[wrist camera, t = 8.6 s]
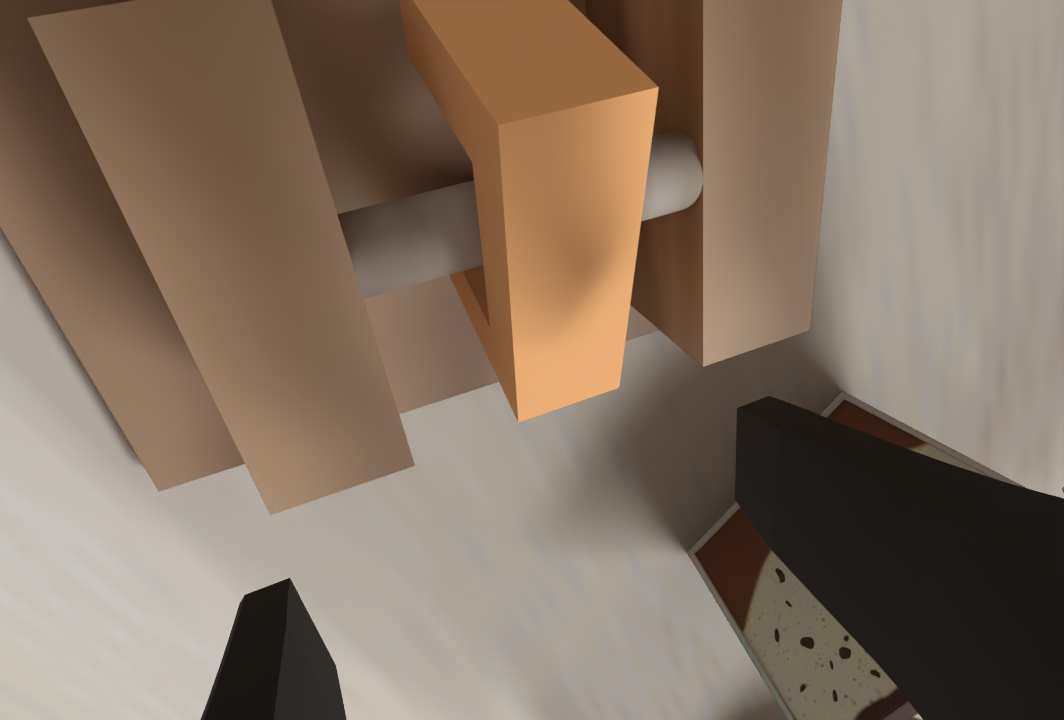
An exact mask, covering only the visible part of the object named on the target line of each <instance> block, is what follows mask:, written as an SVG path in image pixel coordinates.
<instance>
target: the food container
mask: <svg viewBox="0 0 1064 720" xmlns="http://www.w3.org/2000/svg"><path fill="white" fill-rule="evenodd" d="M820 415H821V416H824V417H826V418H829V419H832V420H834V421H837V422H839V423H842V424H844V425H847V426H849V427H852V428H855V429H857V430H860V431H862V432H865V433H867V434H870V435H873V436H875V437H878V438H880V439H883V440H886V441H888V442H891V443H894V444H896V445H899V446H902V447H904V448H907V449H910V450H912V451H915V452H918V453H921V454H923V455H926V456H929V457H932V458H935V459H937V460H940V461H943V462H946V463H949V464H952V465H955V466H958V467H961V468H964V469H967V470H970V471H973V472H976V473H979V474H982V475H985V476H988V477H991V478H994V479H997V480H1000V481H1004V482H1007V483H1010V484H1013V485H1017V486H1020V487H1023V486H1022V485H1020V484H1018V483H1016V482H1014V481H1012V480H1010V479H1008V478H1006V477H1004V476H1003V475H1001V474H999V473H997V472H995V471H993V470H991V469H989V468H987V467H985V466H984V465H982V464H980V463H978V462H976V461H974V460H972V459H970V458H968V457H967V456H965V455H963V454H961V453H959V452H957V451H955V450H953V449H951V448H949V447H948V446H946V445H944V444H942V443H940V442H938V441H936V440H934V439H932V438H931V437H929V436H927V435H925V434H923V433H921V432H919V431H917V430H915V429H913V428H912V427H910V426H908V425H906V424H904V423H902V422H900V421H898V420H896V419H894V418H893V417H891V416H889V415H887V414H885V413H883V412H881V411H879V410H877V409H876V408H874V407H872V406H870V405H868V404H866V403H864V402H862V401H860V400H858V399H857V398H855V397H853V396H851V395H849V394H847V393H845V392H843V391H842V392H841V393H840V394H839V395H838V396H837V397H836V398H835V399H834V400H833V401H832V402H831V403H830V405H829V406H828V407H827V408H826V409H825V410H824V411H823V412H822V413H821V414H820ZM1024 488H1025V487H1024ZM1062 490H1063V492H1064V487H1063V488H1062ZM687 554H688V555H689V557H690V559H691V560H692V562H693V564H694V565H695V567H696V569H697V570H698V572H699V574H700V575H701V577H702V579H703V580H704V582H705V584H706V585H707V587H708V589H709V590H710V592H711V593H712V595H713V597H714V598H715V600H716V602H717V603H718V605H719V607H720V608H721V610H722V612H723V613H724V615H725V617H726V618H727V620H728V622H729V623H730V625H731V627H732V628H733V630H734V632H735V633H736V635H737V637H738V638H739V640H740V642H741V643H742V645H743V647H744V648H745V650H746V652H747V653H748V655H749V657H750V658H751V660H752V662H753V663H754V665H755V667H756V668H757V670H758V672H759V673H760V675H761V677H762V678H763V680H764V682H765V683H766V685H767V687H768V688H769V690H770V692H771V693H772V695H773V697H774V698H775V700H776V702H777V703H778V705H779V707H780V708H781V710H782V712H783V713H784V715H785V717H786V718H787V720H923V719H922V718H921V716H920V715H919V714H918V713H917V711H916V710H915V709H914V708H913V706H912V705H911V704H910V702H909V701H908V700H907V699H906V697H905V696H904V695H903V693H902V692H901V691H900V690H899V688H898V687H897V686H896V685H895V684H894V682H893V681H892V680H891V679H890V678H889V677H888V676H887V674H886V673H885V672H884V671H883V670H882V669H881V668H880V666H879V665H878V664H877V663H876V662H875V661H874V660H873V659H872V657H871V656H870V655H869V654H868V653H867V652H866V651H865V650H864V649H863V648H862V647H861V646H860V645H859V644H858V643H857V641H856V640H855V639H854V638H853V637H852V636H851V635H850V634H849V633H848V632H847V631H846V630H845V629H844V628H843V627H842V626H841V624H840V623H839V622H838V621H837V620H836V619H835V618H834V617H833V616H832V615H831V614H830V613H829V612H828V611H827V610H826V609H825V607H824V606H823V605H822V604H821V603H820V602H819V601H818V600H817V599H816V598H815V597H814V596H813V595H812V594H811V593H810V592H809V590H808V589H807V588H806V587H805V586H804V585H803V584H802V583H801V582H800V581H799V580H798V579H797V577H796V576H795V575H794V574H793V573H792V572H791V571H790V570H789V569H788V568H787V567H786V566H785V565H784V563H783V562H782V561H781V560H780V559H779V558H778V557H777V556H776V555H775V553H774V552H773V551H772V550H771V549H770V547H769V546H768V545H767V543H766V542H765V541H764V539H763V538H762V537H761V535H760V534H759V533H758V531H757V530H756V529H755V527H754V526H753V524H752V523H751V522H750V520H749V519H748V517H747V516H746V514H745V513H744V512H743V510H742V509H741V507H740V506H739V504H738V503H737V502H735V503H734V504H733V505H732V506H731V507H730V508H729V509H728V510H727V512H726V513H725V514H724V515H723V516H722V517H721V518H720V519H719V520H718V521H717V522H716V523H715V524H714V525H713V526H712V527H711V528H710V529H709V530H708V531H707V532H706V533H705V534H704V535H703V536H702V538H701V539H700V540H699V541H698V542H697V543H696V544H695V545H694V546H693V547H692V548H691V549H690V550H689V551H688V552H687Z"/></svg>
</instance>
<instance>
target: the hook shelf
mask: <svg viewBox="0 0 1064 720" xmlns="http://www.w3.org/2000/svg"><path fill="white" fill-rule="evenodd" d="M568 1H569V2H571V3H572V4H573V5H574V6H575V7H576V8H577V9H578V10H579V11H580V12H581V13H582V14H583V15H584V16H585V17H586V18H587V19H588V20H589V21H590V22H591V23H592V24H593V25H595V26H596V27H597V28H598V29H599V30H600V31H601V32H602V33H603V34H604V35H605V36H606V37H607V38H608V39H609V40H610V41H611V42H612V43H613V44H614V45H615V46H616V47H618V48H619V49H620V50H621V51H622V52H623V53H624V54H625V55H626V56H627V57H628V58H629V59H630V60H631V61H632V62H633V63H634V64H635V65H636V66H637V67H638V68H639V69H640V70H642V71H643V72H644V73H645V74H646V75H647V76H648V77H649V78H650V79H651V80H652V81H653V82H654V83H655V84H656V85H657V86H658V87H659V89H658V97H657V105H656V112H655V120H654V127H653V135H652V143H651V150H650V158H649V165H648V173H647V181H646V188H645V196H644V203H643V211H642V219H641V226H640V234H639V241H638V249H637V257H636V264H635V272H634V279H633V287H632V295H631V302H630V310H629V317H628V325H627V333H626V340H625V341H627V340H630V339H633V338H636V337H639V336H642V335H645V334H648V333H652V332H655V331H658V330H660V331H661V332H663V333H664V334H665V335H666V336H667V337H669V338H670V339H671V340H672V341H673V342H674V343H676V344H677V345H678V346H679V347H680V348H682V349H683V350H684V351H685V352H686V353H687V354H689V355H690V356H691V357H692V358H693V359H695V360H696V361H697V362H698V363H699V364H700V365H702V366H703V367H704V366H707V365H710V364H713V363H716V362H719V361H722V360H725V359H727V358H730V357H733V356H736V355H739V354H742V353H745V352H748V351H751V350H754V349H757V348H760V347H762V346H765V345H768V344H771V343H774V342H777V341H780V340H783V339H786V338H789V337H792V336H795V335H798V334H800V333H803V332H806V331H809V330H810V322H811V312H812V302H813V292H814V282H815V272H816V262H817V252H818V242H819V232H820V221H821V211H822V201H823V191H824V181H825V171H826V161H827V151H828V141H829V131H830V121H831V111H832V101H833V91H834V81H835V71H836V61H837V51H838V41H839V31H840V21H841V11H842V1H843V0H568ZM0 227H1V229H2V231H3V232H4V234H5V236H6V237H7V239H8V241H9V242H10V244H11V246H12V247H13V249H14V251H15V252H16V254H17V256H18V257H19V259H20V261H21V262H22V264H23V266H24V267H25V269H26V271H27V272H28V274H29V276H30V278H31V279H32V281H33V283H34V284H35V286H36V288H37V289H38V291H39V293H40V294H41V296H42V298H43V299H44V301H45V303H46V304H47V306H48V308H49V309H50V311H51V313H52V314H53V316H54V318H55V319H56V321H57V323H58V324H59V326H60V328H61V329H62V331H63V333H64V334H65V336H66V338H67V339H68V341H69V343H70V344H71V346H72V348H73V349H74V351H75V353H76V354H77V356H78V358H79V359H80V361H81V363H82V364H83V366H84V368H85V369H86V371H87V373H88V374H89V376H90V378H91V379H92V381H93V383H94V384H95V386H96V388H97V389H98V391H99V393H100V394H101V396H102V398H103V399H104V401H105V403H106V404H107V406H108V408H109V409H110V411H111V413H112V414H113V416H114V418H115V419H116V421H117V423H118V424H119V426H120V428H121V429H122V431H123V433H124V434H125V436H126V438H127V439H128V441H129V443H130V444H131V446H132V448H133V449H134V451H135V453H136V454H137V456H138V458H139V459H140V461H141V463H142V464H143V466H144V468H145V469H146V471H147V473H148V474H149V476H150V478H151V479H152V481H153V483H154V484H155V486H156V488H157V489H158V491H162V490H165V489H168V488H171V487H174V486H177V485H180V484H184V483H187V482H190V481H193V480H196V479H199V478H202V477H205V476H208V475H211V474H215V473H218V472H221V471H224V470H227V469H230V468H233V467H236V466H239V465H242V464H246V466H247V469H248V471H249V473H250V475H251V477H252V479H253V481H254V483H255V485H256V487H257V489H258V491H259V493H260V495H261V497H262V499H263V501H264V503H265V505H266V507H267V509H268V511H269V513H270V515H272V514H275V513H278V512H281V511H284V510H287V509H290V508H293V507H295V506H298V505H301V504H304V503H307V502H310V501H313V500H316V499H319V498H322V497H325V496H328V495H330V494H333V493H336V492H339V491H342V490H345V489H348V488H351V487H354V486H357V485H360V484H363V483H366V482H368V481H371V480H374V479H377V478H380V477H383V476H386V475H389V474H392V473H395V472H398V471H401V470H403V469H406V468H409V467H412V466H415V465H414V461H413V458H412V455H411V452H410V449H409V445H408V442H407V439H406V436H405V432H404V429H403V426H402V423H401V419H400V416H399V414H401V413H404V412H407V411H410V410H413V409H416V408H419V407H422V406H425V405H428V404H432V403H435V402H438V401H441V400H444V399H447V398H450V397H453V396H456V395H459V394H462V393H466V392H469V391H472V390H475V389H478V388H481V387H484V386H487V385H490V384H493V383H497V382H499V380H498V378H497V376H496V374H495V371H494V369H493V367H492V365H491V363H490V361H489V359H488V357H487V354H486V352H485V350H484V348H483V346H482V344H481V342H480V339H479V337H478V335H477V333H476V331H475V329H474V327H473V325H472V322H471V320H470V318H469V316H468V314H467V312H466V310H465V308H464V305H463V303H462V301H461V299H460V297H459V295H458V293H457V290H456V288H455V286H454V284H453V282H452V280H451V278H450V276H449V275H451V274H455V273H458V272H462V271H465V270H469V269H472V268H476V267H480V266H483V257H482V248H481V239H480V229H479V220H478V211H477V201H476V192H475V183H474V173H473V164H472V161H471V160H470V158H469V156H468V155H467V153H466V151H465V150H464V148H463V146H462V145H461V143H460V141H459V140H458V138H457V136H456V134H455V133H454V131H453V129H452V128H451V126H450V124H449V123H448V121H447V119H446V118H445V116H444V114H443V113H442V111H441V109H440V108H439V106H438V104H437V103H436V101H435V99H434V98H433V96H432V94H431V93H430V91H429V89H428V88H427V86H426V84H425V83H424V81H423V79H422V78H421V76H420V74H419V73H418V71H417V69H416V68H415V66H414V64H413V62H412V61H411V59H410V57H409V56H408V51H407V45H406V39H405V33H404V27H403V21H402V15H401V9H400V3H399V0H0Z"/></svg>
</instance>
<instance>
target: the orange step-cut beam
mask: <svg viewBox="0 0 1064 720" xmlns="http://www.w3.org/2000/svg"><path fill="white" fill-rule="evenodd" d="M399 3H400V9H401V15H402V21H403V27H404V33H405V39H406V45H407V51H408V56H409V57H410V59H411V61H412V62H413V64H414V66H415V68H416V69H417V71H418V73H419V74H420V76H421V78H422V79H423V81H424V83H425V84H426V86H427V88H428V89H429V91H430V93H431V94H432V96H433V98H434V99H435V101H436V103H437V104H438V106H439V108H440V109H441V111H442V113H443V114H444V116H445V118H446V119H447V121H448V123H449V124H450V126H451V128H452V129H453V131H454V133H455V134H456V136H457V138H458V140H459V141H460V143H461V145H462V146H463V148H464V150H465V151H466V153H467V155H468V156H469V158H470V160H471V161H472V164H473V173H474V183H475V192H476V201H477V211H478V220H479V229H480V239H481V248H482V257H483V266H480V267H476V268H472V269H469V270H465V271H462V272H458V273H455V274H451V275H449V276H450V278H451V280H452V282H453V284H454V286H455V288H456V290H457V293H458V295H459V297H460V299H461V301H462V303H463V305H464V308H465V310H466V312H467V314H468V316H469V318H470V320H471V322H472V325H473V327H474V329H475V331H476V333H477V335H478V337H479V339H480V342H481V344H482V346H483V348H484V350H485V352H486V354H487V357H488V359H489V361H490V363H491V365H492V367H493V369H494V371H495V374H496V376H497V378H498V380H499V382H500V384H501V386H502V388H503V391H504V393H505V395H506V397H507V399H508V401H509V403H510V405H511V408H512V410H513V412H514V414H515V416H516V418H517V420H518V422H521V421H524V420H527V419H530V418H533V417H536V416H539V415H542V414H544V413H547V412H550V411H553V410H556V409H559V408H562V407H565V406H568V405H571V404H573V403H576V402H579V401H582V400H585V399H588V398H591V397H594V396H597V395H599V394H602V393H605V392H608V391H611V390H614V389H617V388H619V386H620V378H621V371H622V363H623V355H624V348H625V340H626V333H627V325H628V317H629V310H630V302H631V295H632V287H633V279H634V272H635V264H636V257H637V249H638V241H639V234H640V226H641V219H642V211H643V203H644V196H645V188H646V181H647V173H648V165H649V158H650V150H651V143H652V135H653V127H654V120H655V112H656V105H657V97H658V89H659V87H658V86H657V85H656V84H655V83H654V82H653V81H652V80H651V79H650V78H649V77H648V76H647V75H646V74H645V73H644V72H643V71H642V70H640V69H639V68H638V67H637V66H636V65H635V64H634V63H633V62H632V61H631V60H630V59H629V58H628V57H627V56H626V55H625V54H624V53H623V52H622V51H621V50H620V49H619V48H618V47H616V46H615V45H614V44H613V43H612V42H611V41H610V40H609V39H608V38H607V37H606V36H605V35H604V34H603V33H602V32H601V31H600V30H599V29H598V28H597V27H596V26H595V25H593V24H592V23H591V22H590V21H589V20H588V19H587V18H586V17H585V16H584V15H583V14H582V13H581V12H580V11H579V10H578V9H577V8H576V7H575V6H574V5H573V4H572V3H571V2H569V1H568V0H399Z"/></svg>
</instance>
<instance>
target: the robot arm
mask: <svg viewBox="0 0 1064 720" xmlns="http://www.w3.org/2000/svg"><path fill="white" fill-rule="evenodd" d="M735 500H736V502H737V503H738V504H739V506H740V507H741V509H742V510H743V512H744V513H745V514H746V516H747V517H748V519H749V520H750V522H751V523H752V524H753V526H754V527H755V529H756V530H757V531H758V533H759V534H760V535H761V537H762V538H763V539H764V541H765V542H766V543H767V545H768V546H769V547H770V549H771V550H772V551H773V552H774V553H775V555H776V556H777V557H778V558H779V559H780V560H781V561H782V562H783V563H784V565H785V566H786V567H787V568H788V569H789V570H790V571H791V572H792V573H793V574H794V575H795V576H796V577H797V579H798V580H799V581H800V582H801V583H802V584H803V585H804V586H805V587H806V588H807V589H808V590H809V592H810V593H811V594H812V595H813V596H814V597H815V598H816V599H817V600H818V601H819V602H820V603H821V604H822V605H823V606H824V607H825V609H826V610H827V611H828V612H829V613H830V614H831V615H832V616H833V617H834V618H835V619H836V620H837V621H838V622H839V623H840V624H841V626H842V627H843V628H844V629H845V630H846V631H847V632H848V633H849V634H850V635H851V636H852V637H853V638H854V639H855V640H856V641H857V643H858V644H859V645H860V646H861V647H862V648H863V649H864V650H865V651H866V652H867V653H868V654H869V655H870V656H871V657H872V659H873V660H874V661H875V662H876V663H877V664H878V665H879V666H880V668H881V669H882V670H883V671H884V672H885V673H886V674H887V676H888V677H889V678H890V679H891V680H892V681H893V682H894V684H895V685H896V686H897V687H898V688H899V690H900V691H901V692H902V693H903V695H904V696H905V697H906V699H907V700H908V701H909V702H910V704H911V705H912V706H913V708H914V709H915V710H916V711H917V713H918V714H919V715H920V716H921V718H922V719H923V720H1064V499H1063V498H1060V497H1056V496H1052V495H1049V494H1045V493H1041V492H1037V491H1034V490H1030V489H1027V488H1024V487H1020V486H1017V485H1013V484H1010V483H1007V482H1004V481H1000V480H997V479H994V478H991V477H988V476H985V475H982V474H979V473H976V472H973V471H970V470H967V469H964V468H961V467H958V466H955V465H952V464H949V463H946V462H943V461H940V460H937V459H935V458H932V457H929V456H926V455H923V454H921V453H918V452H915V451H912V450H910V449H907V448H904V447H902V446H899V445H896V444H894V443H891V442H888V441H886V440H883V439H880V438H878V437H875V436H873V435H870V434H867V433H865V432H862V431H860V430H857V429H855V428H852V427H849V426H847V425H844V424H842V423H839V422H837V421H834V420H832V419H829V418H826V417H824V416H821V415H819V414H816V413H814V412H811V411H809V410H806V409H803V408H801V407H798V406H795V405H793V404H790V403H787V402H785V401H782V400H779V399H776V398H773V397H770V396H768V397H765V398H763V399H760V400H757V401H755V402H752V403H750V404H747V405H744V406H742V407H739V408H737V434H736V482H735ZM201 720H346V715H345V710H344V704H343V699H342V694H341V689H340V684H339V679H338V674H337V669H336V665H335V663H334V661H333V659H332V657H331V655H330V653H329V652H328V650H327V648H326V646H325V644H324V642H323V640H322V638H321V636H320V634H319V632H318V631H317V629H316V627H315V625H314V623H313V621H312V619H311V617H310V615H309V613H308V612H307V610H306V608H305V606H304V604H303V602H302V600H301V598H300V596H299V594H298V592H297V591H296V589H295V587H294V585H293V583H292V581H291V579H290V578H288V579H286V580H283V581H281V582H278V583H275V584H273V585H270V586H267V587H265V588H262V589H259V590H257V591H254V592H252V593H249V594H246V595H245V596H244V597H243V599H242V601H241V602H240V604H239V608H238V611H237V614H236V617H235V621H234V624H233V627H232V630H231V633H230V637H229V640H228V643H227V646H226V649H225V652H224V655H223V658H222V661H221V664H220V667H219V670H218V673H217V676H216V679H215V682H214V684H213V687H212V690H211V693H210V696H209V699H208V702H207V704H206V707H205V710H204V712H203V715H202V717H201Z"/></svg>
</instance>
